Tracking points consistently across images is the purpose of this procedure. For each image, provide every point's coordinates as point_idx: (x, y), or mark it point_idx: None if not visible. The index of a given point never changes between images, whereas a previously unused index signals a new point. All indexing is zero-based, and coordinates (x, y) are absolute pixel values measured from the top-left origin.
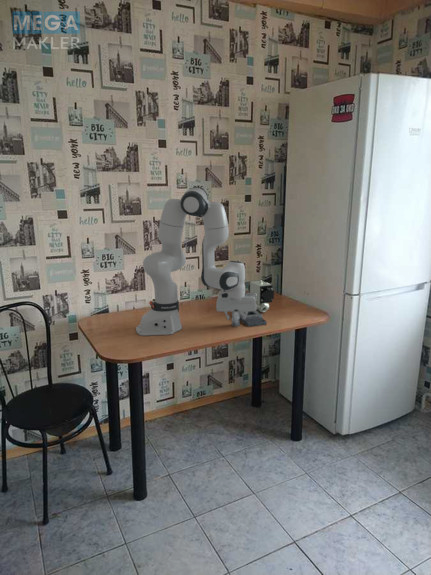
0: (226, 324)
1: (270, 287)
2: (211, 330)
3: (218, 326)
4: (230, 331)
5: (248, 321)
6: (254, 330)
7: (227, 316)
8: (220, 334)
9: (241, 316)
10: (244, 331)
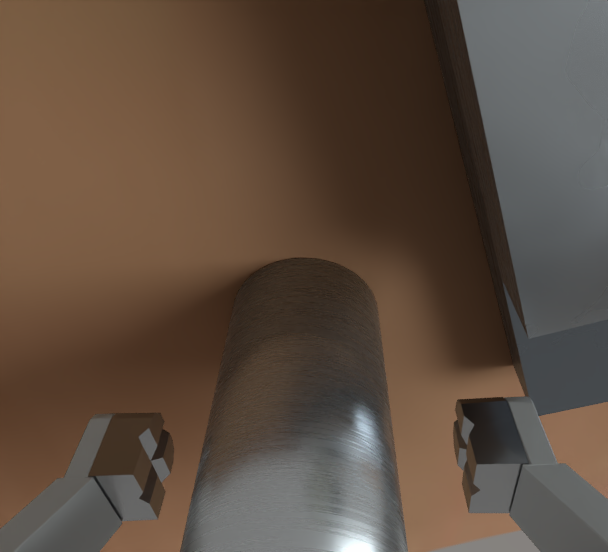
0: (124, 285)
1: None
2: (6, 474)
3: (27, 368)
4: None
5: (575, 336)
6: (571, 465)
7: (108, 524)
8: (155, 542)
9: (465, 97)
10: (427, 488)
